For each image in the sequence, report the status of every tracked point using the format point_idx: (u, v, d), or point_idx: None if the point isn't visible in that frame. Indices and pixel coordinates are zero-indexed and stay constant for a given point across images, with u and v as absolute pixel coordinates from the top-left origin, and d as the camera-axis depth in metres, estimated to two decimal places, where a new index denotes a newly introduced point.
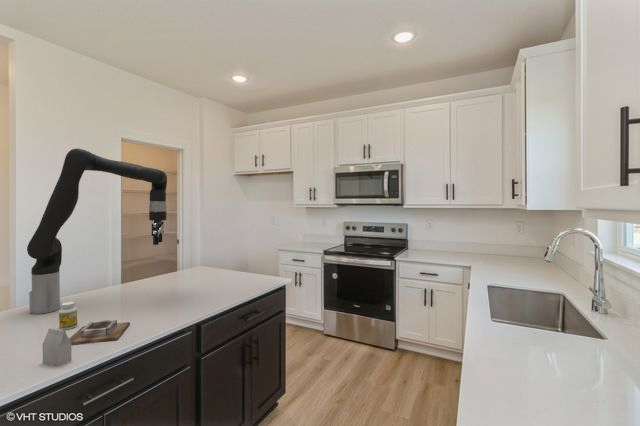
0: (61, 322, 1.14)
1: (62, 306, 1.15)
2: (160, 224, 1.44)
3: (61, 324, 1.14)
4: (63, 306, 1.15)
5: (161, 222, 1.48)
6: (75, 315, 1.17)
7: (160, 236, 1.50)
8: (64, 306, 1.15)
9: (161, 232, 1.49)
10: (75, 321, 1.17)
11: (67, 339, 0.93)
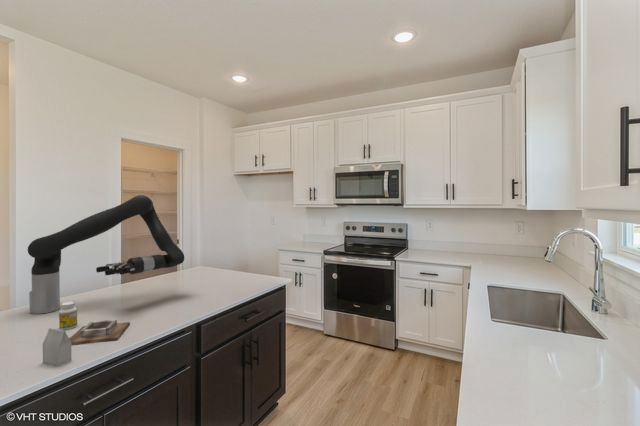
0: (61, 322, 1.14)
1: (62, 306, 1.15)
2: None
3: (61, 324, 1.14)
4: (63, 306, 1.15)
5: None
6: (75, 315, 1.17)
7: (104, 269, 1.30)
8: (64, 306, 1.15)
9: None
10: (75, 321, 1.17)
11: (67, 339, 0.93)
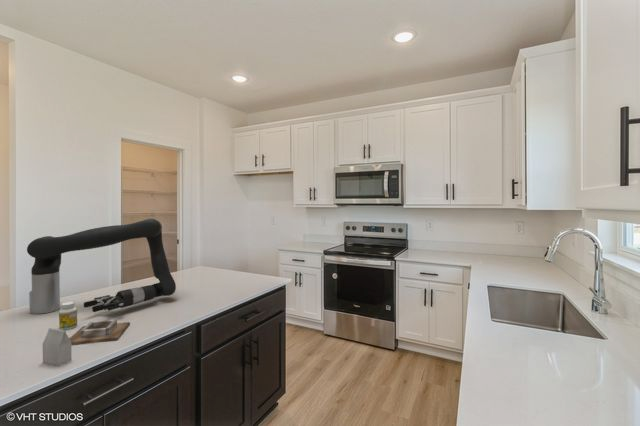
0: (61, 322, 1.14)
1: (62, 306, 1.15)
2: None
3: (61, 324, 1.14)
4: (63, 306, 1.15)
5: None
6: (75, 315, 1.17)
7: (92, 304, 1.27)
8: (64, 306, 1.15)
9: (98, 304, 1.28)
10: (75, 321, 1.17)
11: (67, 339, 0.93)
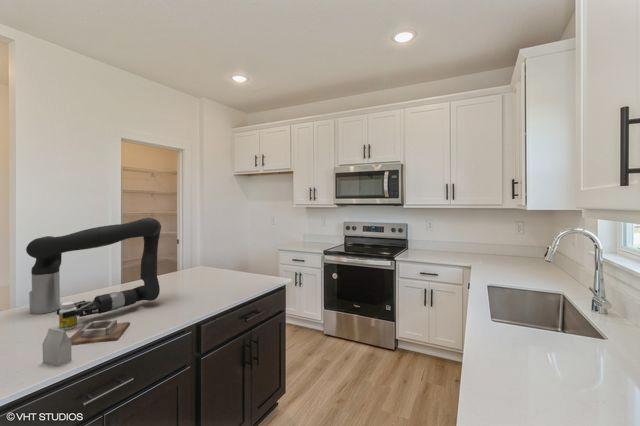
0: (61, 322, 1.14)
1: (62, 306, 1.15)
2: None
3: (61, 324, 1.14)
4: (63, 306, 1.15)
5: None
6: None
7: None
8: (64, 306, 1.15)
9: None
10: (75, 321, 1.17)
11: (67, 339, 0.93)
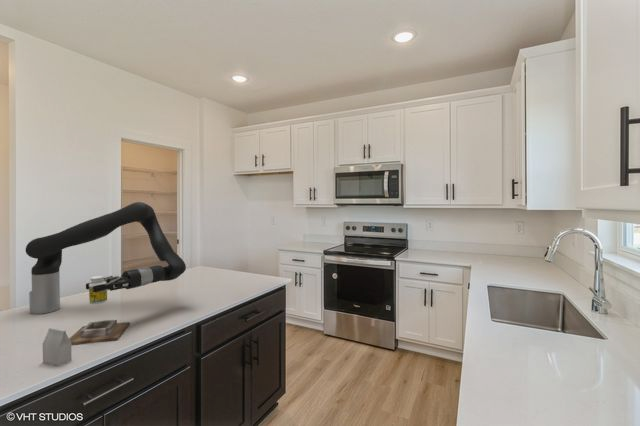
0: (91, 296, 1.09)
1: (92, 279, 1.10)
2: None
3: (91, 298, 1.09)
4: (93, 279, 1.10)
5: None
6: (105, 289, 1.12)
7: None
8: (94, 279, 1.10)
9: None
10: (105, 295, 1.12)
11: (67, 339, 0.93)
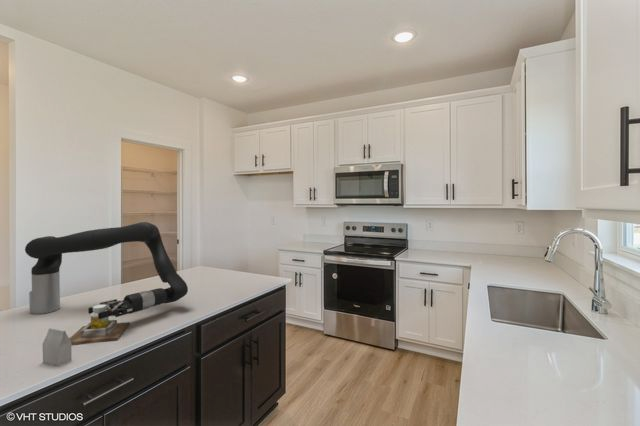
0: (93, 326, 1.09)
1: (94, 309, 1.09)
2: None
3: (93, 328, 1.09)
4: (95, 309, 1.09)
5: None
6: (107, 319, 1.12)
7: None
8: (96, 309, 1.09)
9: None
10: (107, 325, 1.12)
11: (67, 339, 0.93)
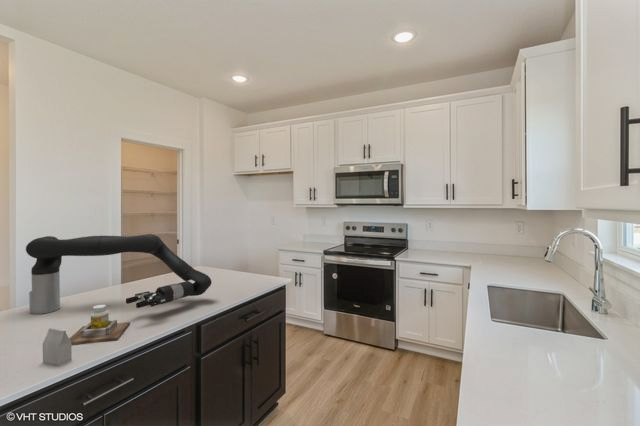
0: (93, 326, 1.09)
1: (94, 309, 1.09)
2: None
3: (93, 328, 1.09)
4: (95, 309, 1.09)
5: None
6: (107, 319, 1.12)
7: (134, 300, 1.25)
8: (96, 309, 1.09)
9: (139, 300, 1.27)
10: (107, 325, 1.12)
11: (67, 339, 0.93)
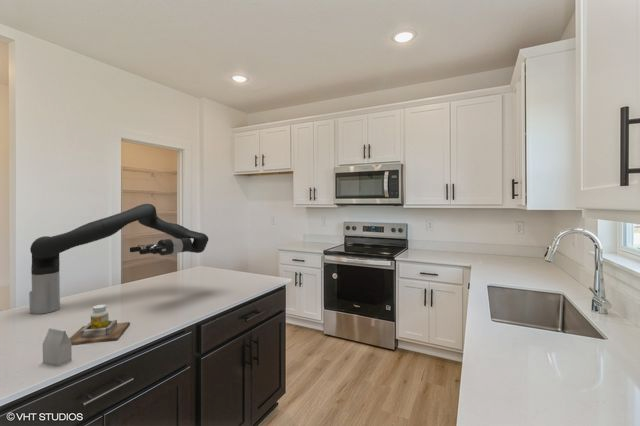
0: (93, 326, 1.09)
1: (94, 309, 1.09)
2: None
3: (93, 328, 1.09)
4: (95, 309, 1.09)
5: None
6: (107, 319, 1.12)
7: (137, 250, 1.36)
8: (96, 309, 1.09)
9: None
10: (107, 325, 1.12)
11: (67, 339, 0.93)
